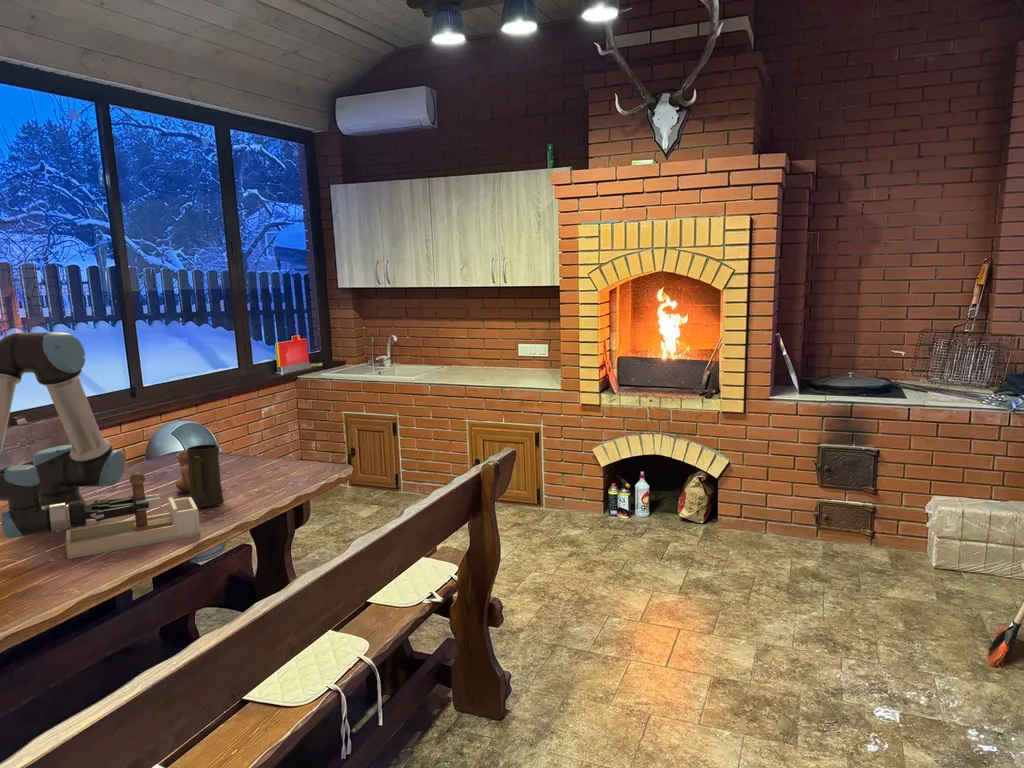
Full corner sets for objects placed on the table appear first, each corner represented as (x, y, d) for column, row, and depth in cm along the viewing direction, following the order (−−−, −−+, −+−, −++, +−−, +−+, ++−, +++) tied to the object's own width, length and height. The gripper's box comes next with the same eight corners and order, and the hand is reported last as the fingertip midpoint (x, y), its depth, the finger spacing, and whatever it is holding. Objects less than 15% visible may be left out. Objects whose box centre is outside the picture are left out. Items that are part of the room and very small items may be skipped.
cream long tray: (68, 543, 209) (64, 513, 207) (193, 521, 226) (190, 493, 225) (67, 559, 197) (64, 528, 195) (199, 534, 214) (197, 505, 213)
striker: (134, 532, 214) (128, 471, 211) (171, 525, 219) (165, 466, 216) (135, 537, 209) (129, 475, 206) (173, 530, 214) (167, 470, 211)
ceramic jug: (191, 482, 268) (188, 446, 266) (228, 483, 267) (225, 446, 265) (164, 497, 251) (160, 458, 248) (203, 498, 249) (200, 459, 247)
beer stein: (190, 501, 246) (185, 444, 243) (224, 497, 250) (219, 441, 247) (187, 514, 232) (182, 455, 229) (223, 510, 236) (218, 452, 233)
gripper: (70, 519, 209) (158, 504, 221) (70, 536, 195) (164, 520, 207) (67, 494, 208) (156, 481, 220) (67, 510, 194) (161, 495, 206)
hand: (160, 500), depth 214 cm, fingers closed on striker, 3 cm apart
